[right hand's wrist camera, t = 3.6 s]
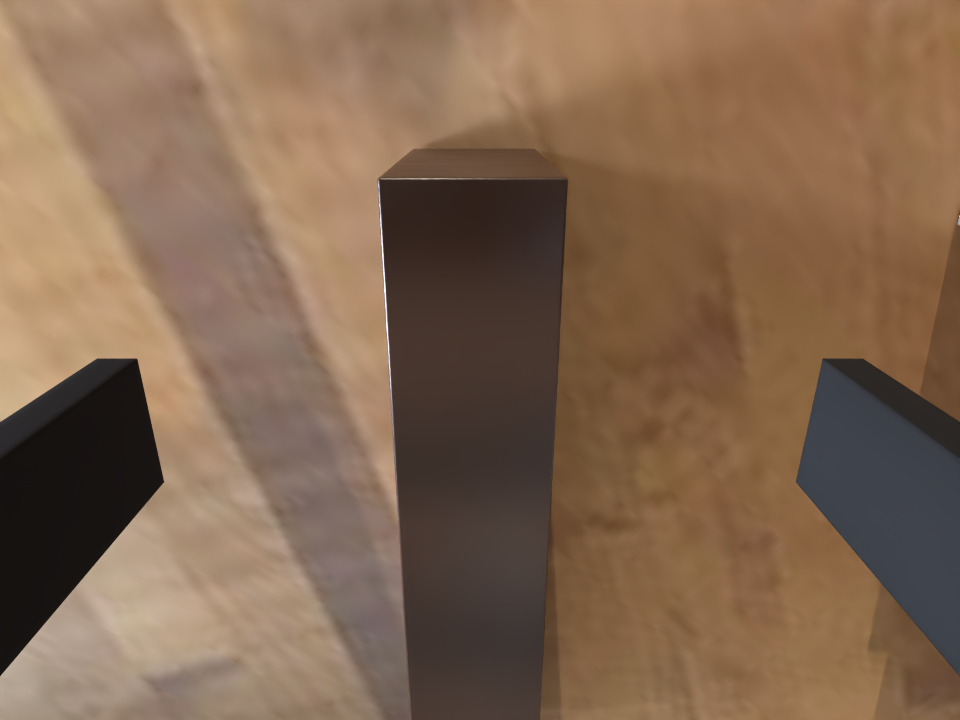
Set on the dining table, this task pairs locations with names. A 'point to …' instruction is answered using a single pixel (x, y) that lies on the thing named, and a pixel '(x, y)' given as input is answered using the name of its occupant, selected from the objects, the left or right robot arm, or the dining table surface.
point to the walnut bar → (473, 418)
